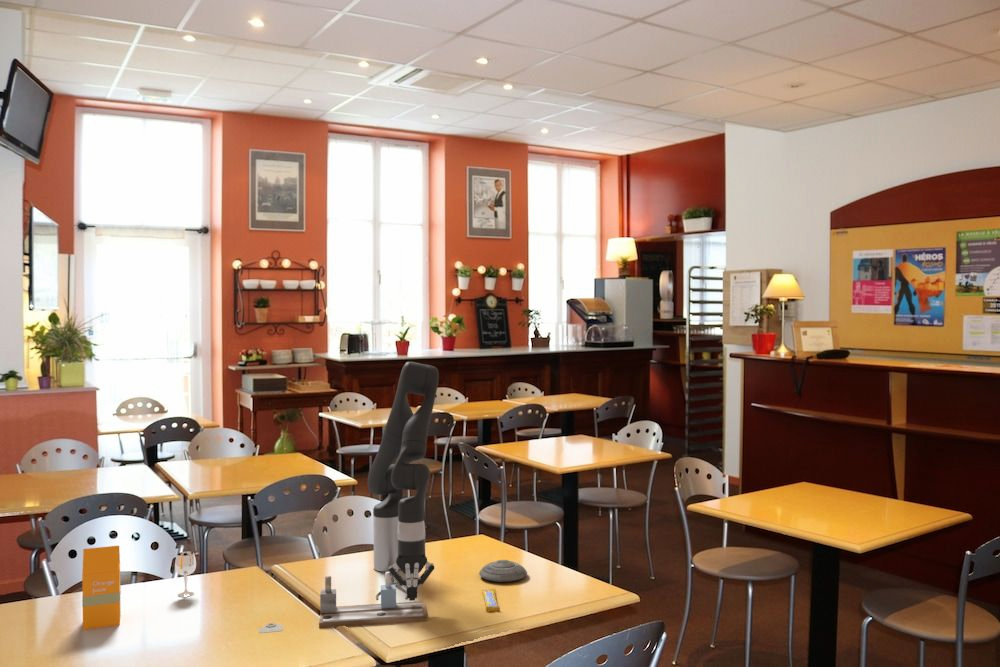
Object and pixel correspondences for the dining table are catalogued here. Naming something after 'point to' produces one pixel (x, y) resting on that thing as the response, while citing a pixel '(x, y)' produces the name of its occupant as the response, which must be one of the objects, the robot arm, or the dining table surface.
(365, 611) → the board
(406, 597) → the pliers
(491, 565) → the flying saucer
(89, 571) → the orange juice
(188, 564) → the wineglass
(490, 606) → the candy bar
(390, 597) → the pointer block
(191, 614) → the dining table surface
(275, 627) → the mounting bracket
